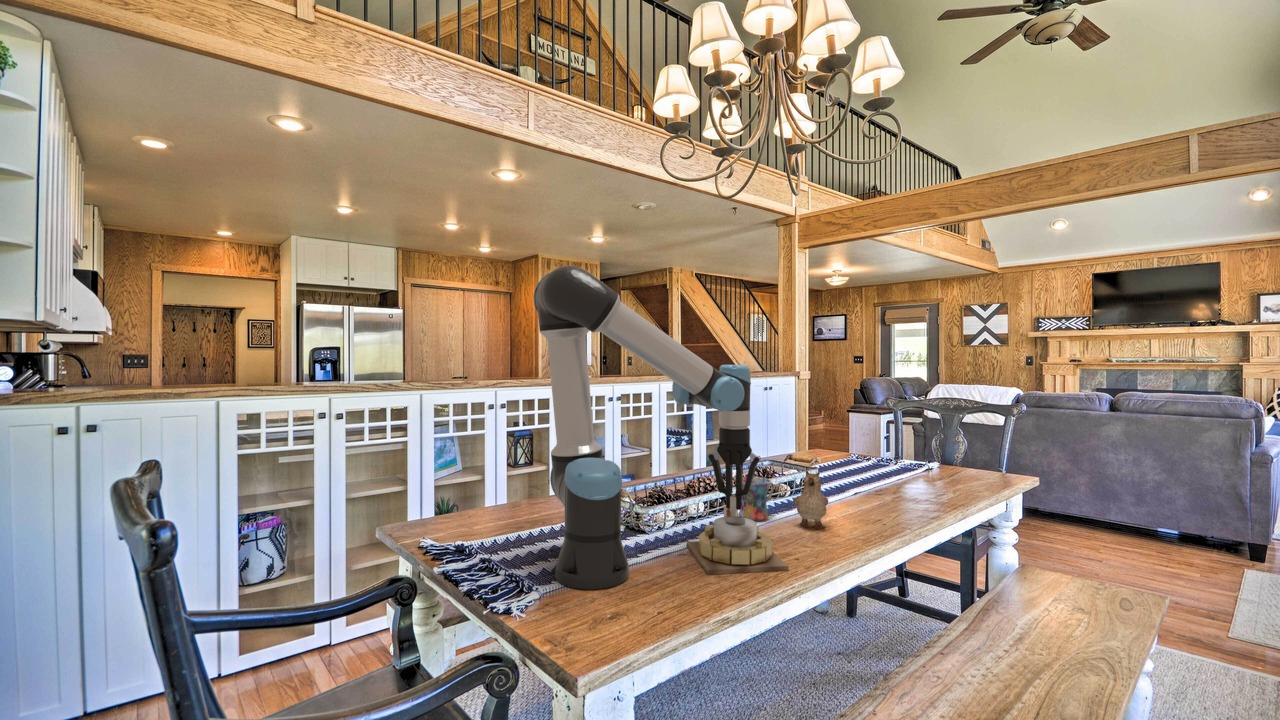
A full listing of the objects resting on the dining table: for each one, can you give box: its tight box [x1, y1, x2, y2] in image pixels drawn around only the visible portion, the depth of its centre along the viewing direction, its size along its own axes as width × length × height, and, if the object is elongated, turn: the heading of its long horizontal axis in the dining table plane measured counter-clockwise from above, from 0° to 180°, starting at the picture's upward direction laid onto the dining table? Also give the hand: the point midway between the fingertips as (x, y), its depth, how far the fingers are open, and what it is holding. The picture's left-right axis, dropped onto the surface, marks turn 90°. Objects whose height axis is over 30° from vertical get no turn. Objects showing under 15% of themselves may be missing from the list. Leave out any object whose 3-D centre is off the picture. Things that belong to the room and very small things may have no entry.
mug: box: [738, 476, 775, 521], centre depth 168 cm, size 12×9×11 cm
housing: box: [685, 516, 789, 576], centre depth 136 cm, size 18×19×9 cm
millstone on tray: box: [698, 505, 773, 565], centre depth 139 cm, size 24×16×6 cm
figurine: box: [792, 470, 829, 530], centre depth 160 cm, size 9×10×15 cm
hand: (733, 521), depth 148 cm, fingers closed
